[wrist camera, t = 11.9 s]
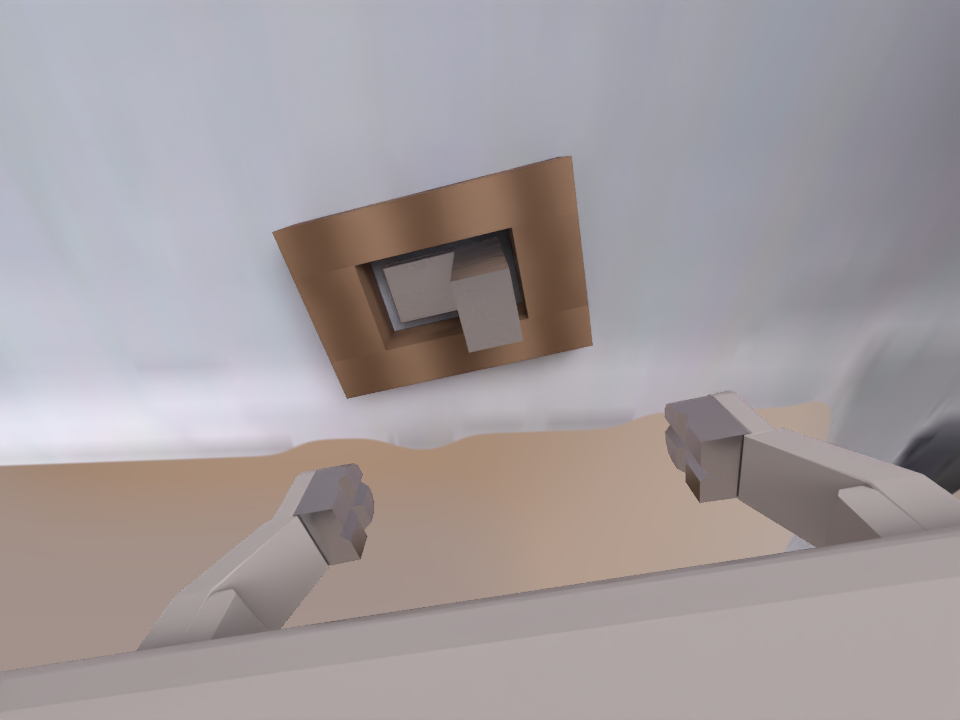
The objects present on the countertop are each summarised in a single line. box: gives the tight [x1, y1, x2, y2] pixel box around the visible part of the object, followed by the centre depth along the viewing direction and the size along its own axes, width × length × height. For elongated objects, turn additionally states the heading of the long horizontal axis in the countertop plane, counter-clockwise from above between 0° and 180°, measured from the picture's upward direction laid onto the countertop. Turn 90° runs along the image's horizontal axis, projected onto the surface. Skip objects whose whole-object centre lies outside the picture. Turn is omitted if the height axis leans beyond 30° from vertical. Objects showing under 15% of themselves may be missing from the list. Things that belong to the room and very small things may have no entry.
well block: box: [272, 156, 593, 399], centre depth 27 cm, size 18×12×4 cm, turn 103°
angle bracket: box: [383, 237, 523, 353], centre depth 25 cm, size 8×4×9 cm, turn 103°
